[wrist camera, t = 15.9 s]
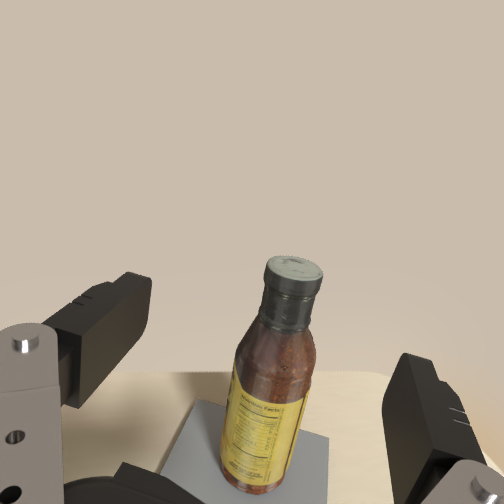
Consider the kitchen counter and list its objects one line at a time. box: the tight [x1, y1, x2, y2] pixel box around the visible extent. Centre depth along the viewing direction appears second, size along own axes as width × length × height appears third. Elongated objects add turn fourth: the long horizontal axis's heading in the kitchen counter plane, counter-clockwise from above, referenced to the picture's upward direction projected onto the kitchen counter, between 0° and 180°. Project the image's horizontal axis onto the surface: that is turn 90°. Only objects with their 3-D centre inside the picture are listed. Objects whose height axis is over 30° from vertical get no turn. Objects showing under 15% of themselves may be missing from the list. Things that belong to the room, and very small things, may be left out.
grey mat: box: [160, 399, 329, 504], centre depth 35 cm, size 14×12×1 cm
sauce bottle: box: [220, 256, 323, 495], centre depth 31 cm, size 7×6×20 cm
